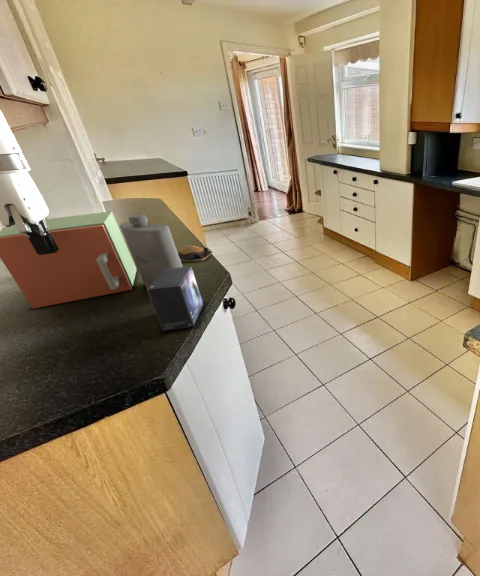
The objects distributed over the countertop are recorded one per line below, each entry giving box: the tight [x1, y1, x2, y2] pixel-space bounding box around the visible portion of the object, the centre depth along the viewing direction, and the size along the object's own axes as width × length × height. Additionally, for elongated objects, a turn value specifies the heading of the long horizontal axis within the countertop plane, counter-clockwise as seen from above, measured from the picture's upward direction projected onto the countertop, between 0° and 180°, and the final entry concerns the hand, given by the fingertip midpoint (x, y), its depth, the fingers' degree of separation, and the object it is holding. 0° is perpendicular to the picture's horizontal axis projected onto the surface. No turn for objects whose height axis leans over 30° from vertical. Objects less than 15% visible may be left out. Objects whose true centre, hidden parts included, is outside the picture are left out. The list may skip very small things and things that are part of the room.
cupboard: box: [0, 210, 138, 288], centre depth 83 cm, size 13×20×18 cm, turn 121°
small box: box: [146, 266, 204, 332], centre depth 70 cm, size 11×6×10 cm, turn 17°
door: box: [0, 225, 133, 309], centre depth 75 cm, size 6×20×18 cm, turn 117°
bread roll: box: [177, 245, 214, 263], centre depth 104 cm, size 11×8×4 cm
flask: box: [119, 213, 184, 289], centre depth 81 cm, size 15×6×20 cm, turn 64°
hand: (48, 252), depth 70 cm, fingers closed
